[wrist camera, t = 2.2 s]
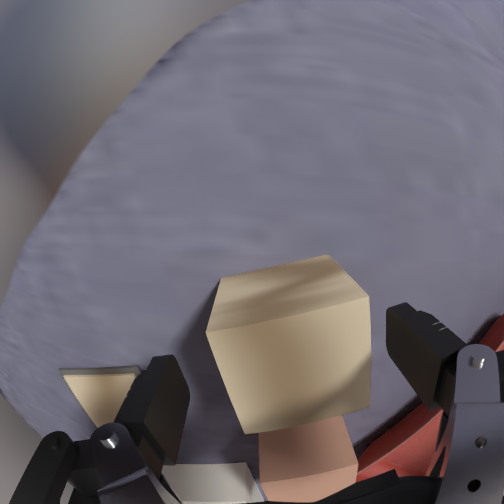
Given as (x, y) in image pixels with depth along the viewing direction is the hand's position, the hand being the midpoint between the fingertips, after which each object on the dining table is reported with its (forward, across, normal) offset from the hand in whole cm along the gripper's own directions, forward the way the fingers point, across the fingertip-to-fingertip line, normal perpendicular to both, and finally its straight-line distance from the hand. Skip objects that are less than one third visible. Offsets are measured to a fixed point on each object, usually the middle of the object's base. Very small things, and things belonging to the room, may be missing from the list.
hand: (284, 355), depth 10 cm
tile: (+4, +12, +5) cm, 13 cm away
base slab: (+4, +8, +16) cm, 19 cm away
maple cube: (+4, 0, 0) cm, 4 cm away
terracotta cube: (+4, 0, +10) cm, 11 cm away
